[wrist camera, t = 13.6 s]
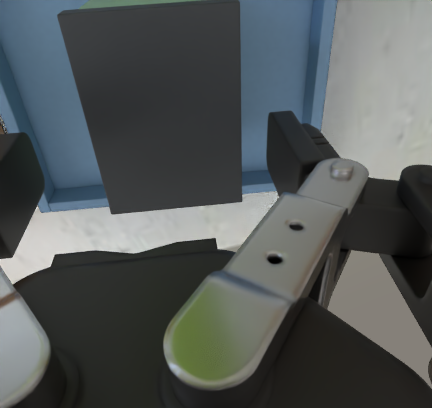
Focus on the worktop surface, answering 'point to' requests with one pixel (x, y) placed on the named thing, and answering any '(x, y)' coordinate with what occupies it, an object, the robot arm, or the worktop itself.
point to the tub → (160, 99)
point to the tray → (73, 113)
